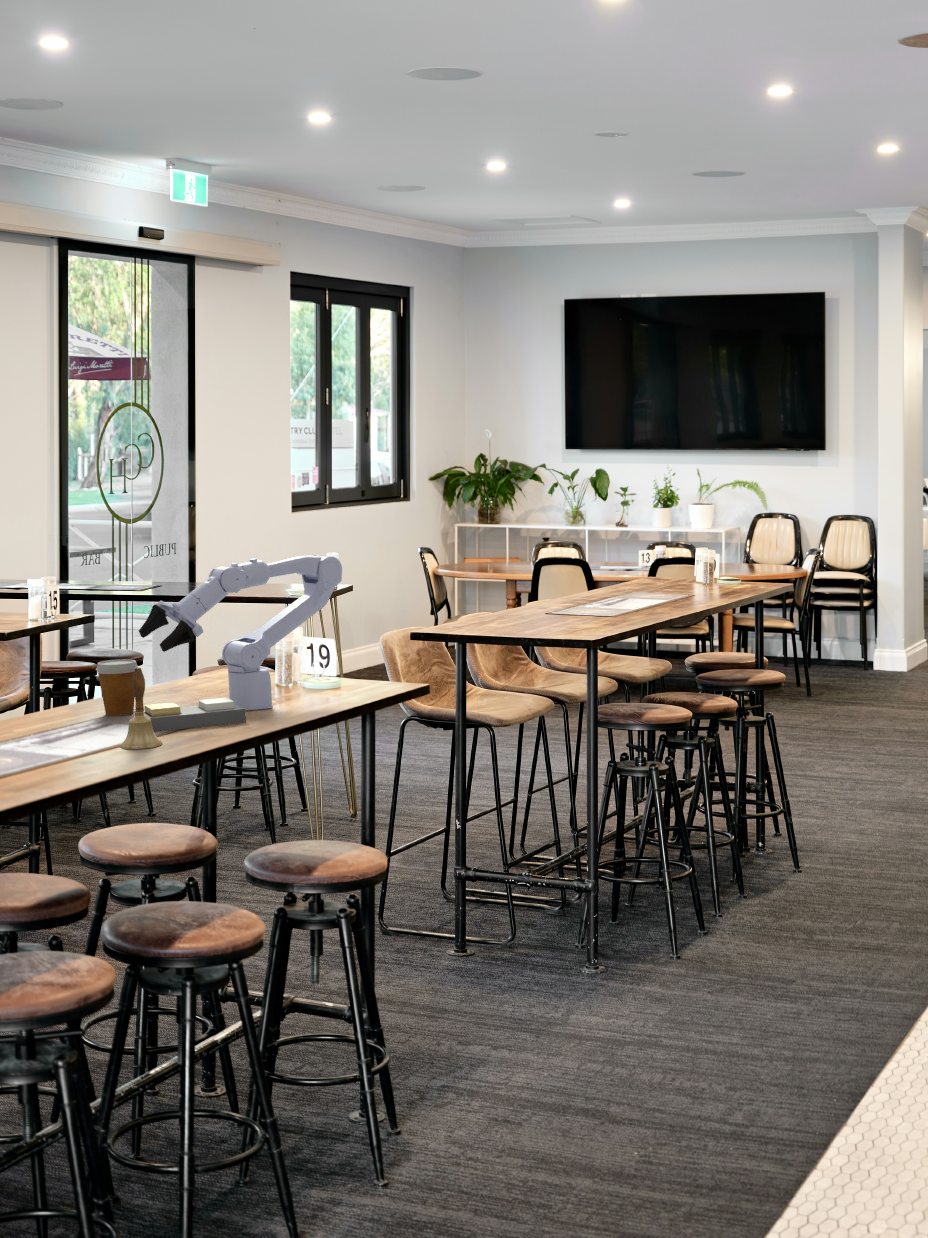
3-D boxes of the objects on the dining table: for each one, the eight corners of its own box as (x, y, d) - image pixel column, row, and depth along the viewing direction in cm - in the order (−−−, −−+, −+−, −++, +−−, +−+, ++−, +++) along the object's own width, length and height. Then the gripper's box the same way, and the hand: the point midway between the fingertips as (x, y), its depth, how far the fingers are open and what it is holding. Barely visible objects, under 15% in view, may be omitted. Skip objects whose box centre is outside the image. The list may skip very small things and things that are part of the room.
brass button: (173, 716, 325) (173, 702, 325) (180, 720, 320) (180, 706, 319) (145, 718, 323) (144, 705, 322) (152, 723, 317) (151, 709, 317)
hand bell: (123, 742, 304) (119, 666, 302) (164, 741, 305) (160, 664, 303) (117, 750, 296) (113, 672, 294) (159, 748, 297) (155, 670, 295)
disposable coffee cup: (130, 717, 334) (127, 665, 332) (91, 717, 335) (88, 665, 334) (147, 710, 343) (144, 659, 341) (109, 709, 345) (106, 659, 343)
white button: (226, 710, 330) (226, 697, 330) (234, 714, 324) (234, 701, 324) (199, 713, 328) (198, 700, 327) (206, 717, 322) (205, 704, 322)
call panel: (232, 714, 333) (231, 701, 333) (246, 722, 323) (245, 708, 323) (135, 724, 324) (134, 711, 324) (146, 732, 314) (145, 718, 314)
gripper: (171, 579, 333) (125, 615, 327) (211, 604, 325) (165, 642, 319) (180, 600, 338) (135, 637, 332) (221, 626, 330) (175, 664, 324)
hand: (151, 641), depth 326 cm, fingers open, 7 cm apart
